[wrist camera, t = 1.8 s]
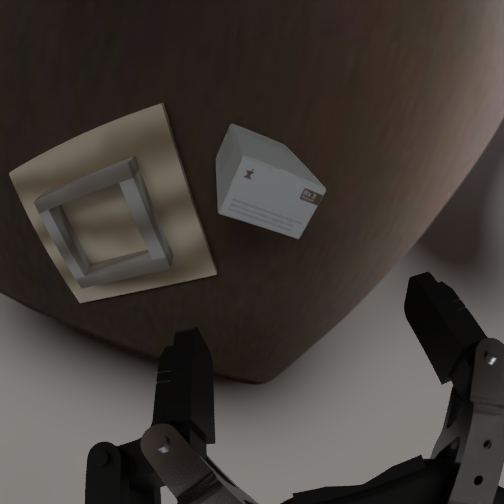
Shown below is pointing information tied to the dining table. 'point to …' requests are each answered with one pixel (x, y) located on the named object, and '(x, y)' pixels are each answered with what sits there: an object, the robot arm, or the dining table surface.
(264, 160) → the skincare box
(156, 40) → the dining table surface
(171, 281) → the square frame tray
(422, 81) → the dining table surface
